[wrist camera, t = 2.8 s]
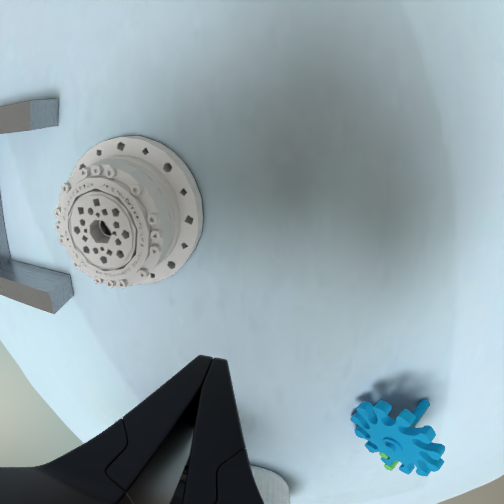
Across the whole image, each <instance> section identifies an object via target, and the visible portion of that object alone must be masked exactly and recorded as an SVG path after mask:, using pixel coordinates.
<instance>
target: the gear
mask: <svg viewBox="0 0 504 504" xmlns="http://www.w3.org/2000/svg"><path fill="white" fill-rule="evenodd" d="M429 406H430V403H429V402H428V401H427V400H425V399H422V400H421V402H420V403H419V404H418V406H417V407H416V408H415V410H414V411H413V412H412V413H411V412H410V411H409V410H407V409H403V410H402V411H401V413H400V414H399V415H398V416H397V418H396V419H392V418H390V417H389V416H388V415H387V414H388V413H389V412H390V411H391V409H392V406H391V405H390V404H389V403H387V402H385V401H382V400H379V401H378V403H377V404H376V405H375V406H374V407H373V405H372V404H371V403H370V402H362V403H361V404H360V405H359V406H358V407H357V408H356V410H357V412H356V413H355V414H354V415H353V416H352V417H351V421H352V422H354V423H355V424H357V425H358V426H357V428H356V429H355V434H356V435H357V436H358V437H360V438H364V439H367V440H369V441H368V442H367V443H366V444H365V446H366V448H367V449H368V450H369V451H370V452H372V453H374V452H380V453H379V454H380V456H381V457H382V458H381V460H382V461H383V462H384V463H385V465H384V467H385V468H386V469H388V470H392V469H393V468H394V467H395V466H396V465H397V463H398V462H399V461H400V462H401V463H403V464H402V465H401V466H400V467H399V469H400V470H401V471H402V472H404V473H406V474H410V473H411V471H412V470H413V469H414V467H415V466H416V467H417V470H416V473H417V474H418V475H421V476H428V474H429V473H430V472H431V471H433V472H435V471H438V470H439V469H440V467H441V466H442V465H443V463H444V461H443V460H442V459H441V458H440V457H441V456H442V454H443V453H444V451H445V446H444V445H442V444H437V443H432V442H431V441H432V440H433V439H434V437H435V436H436V434H435V431H434V430H433V428H432V427H431V426H424V427H422V428H414V426H415V425H416V424H417V422H418V421H419V420H420V418H421V417H422V416H423V414H424V413H425V411H426V410H427V408H428V407H429ZM373 411H374V412H375V414H376V415H375V414H374V412H373ZM414 465H415V466H414Z"/></svg>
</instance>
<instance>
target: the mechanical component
mask: <svg viewBox="0 0 504 504" xmlns="http://www.w3.org/2000/svg"><path fill="white" fill-rule="evenodd" d="M170 164H171V165H172V167H171V165H170ZM54 215H55V216H56V217H57V220H58V222H57V223H56V224H55V229H56V230H57V231H59V232H60V235H61V236H60V237H59V239H58V240H59V243H60V244H62V245H64V247H65V248H66V250H67V252H68V253H69V255H70V257H71V258H72V260H73V266H74V267H75V268H76V269H78V268H80V269H81V270H82V271H84V272H85V273H86V274H87V275H89V276H90V277H91V278H93V279H94V282H95V283H96V284H98V285H100V284H101V283H103V284H106V286H107V287H109V288H113V287H114V286H116V287H117V286H119V288H122V289H124V288H125V287H126V286H132V285H134V284H150V283H156V282H159V281H161V280H164V279H166V278H169V277H171V276H173V275H174V274H175V273H176V272H177V271H178V270H179V269H180V268H181V267H182V266H183V265H184V264H185V262H186V261H187V260H188V258H189V257H190V255H191V254H192V252H193V251H194V249H195V248H196V246H197V243H198V241H199V238H200V236H201V232H202V225H203V212H202V198H201V195H200V193H199V190H198V187H197V185H196V182H195V179H194V177H193V175H192V174H191V172H190V171H189V169H188V167H187V166H186V164H185V163H184V162H183V161H182V160H181V159H180V158H179V157H178V156H177V155H176V154H175V153H174V152H173V151H172V150H170V149H169V148H167V147H166V146H164V145H163V144H161V143H160V142H157V141H154V140H151V139H148V138H145V137H141V136H127V137H117V138H114V139H110V140H106V141H102V142H100V143H98V144H97V145H95V146H94V147H93V148H91V149H90V150H88V151H87V152H86V153H85V154H84V155H83V156H82V158H81V159H80V160H79V161H78V163H77V165H76V166H75V168H74V170H73V172H72V174H71V177H70V178H69V180H68V181H67V183H65V184H63V185H62V192H61V194H60V196H59V203H58V208H57V209H55V211H54Z"/></svg>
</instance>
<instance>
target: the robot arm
mask: <svg viewBox="0 0 504 504" xmlns="http://www.w3.org/2000/svg"><path fill="white" fill-rule="evenodd" d="M245 448H246V447H245V442H244V438H243V433H242V429H241V424H240V419H239V415H238V410H237V405H236V400H235V396H234V391H233V386H232V381H231V376H230V371H229V366H228V361H227V360H225V359H220V358H214V359H213V358H212V357H210V356H205V355H199V356H197V357H196V358H195V359H194V360H193V361H191V362H190V363H189V364H188V365H187V366H185V367H184V368H183V369H182V370H181V371H179V372H178V373H177V374H176V375H174V376H173V377H172V378H171V379H170V380H168V381H167V382H166V383H165V384H163V385H162V386H161V387H160V388H159V389H157V390H156V391H155V392H154V393H152V394H151V395H150V396H149V397H147V398H146V399H145V400H144V401H142V402H141V403H140V404H139V405H137V406H136V407H135V408H134V409H132V410H131V411H130V412H129V413H127V414H126V415H125V416H123V419H122V418H121V419H119V420H118V421H117V422H116V423H114V424H113V425H112V426H110V427H109V428H107V429H106V430H105V431H103V432H102V433H101V434H99V435H97V436H96V437H94V438H93V439H91V440H89V441H88V442H86V443H84V444H83V445H81V446H79V447H77V448H76V449H74V450H72V451H70V452H68V453H67V454H65V455H63V456H61V457H59V458H57V459H55V460H53V461H51V462H49V463H46V464H44V465H40V466H35V467H0V504H264V501H263V499H262V497H261V495H260V492H259V490H258V487H257V485H256V482H255V479H254V477H253V474H252V470H251V466H250V463H249V459H248V455H247V450H246V449H245Z"/></svg>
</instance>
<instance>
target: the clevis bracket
mask: <svg viewBox="0 0 504 504" xmlns="http://www.w3.org/2000/svg"><path fill="white" fill-rule="evenodd" d="M58 106H59V99H45V100H31V101H26V102H20V103H16V104H11V105H6V106H2V107H0V134H4V133H12V132H20V131H29V130H35V129H41V128H46V127H52V126H58ZM0 294H1V295H3V296H6V297H8V298H11V299H13V300H16V301H19V302H21V303H24V304H27V305H30V306H32V307H35V308H38V309H41V310H44V311H47V312H50V313H53V314H55V313H56V312H57V311H58V310H59V309H60V308H61V307H62V306H63V305H64V304H65V303H66V302H67V301H68V300H69V299H71V298H72V297H73V296H74V293H73V288H72V283H71V278H70V275H69V274H64V273H60V272H56V271H52V270H48V269H44V268H41V267H37V266H33V265H29V264H25V263H22V262H18V261H14V260H11V257H10V252H9V247H8V242H7V237H6V231H5V225H4V219H3V212H2V205H1V197H0Z"/></svg>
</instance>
